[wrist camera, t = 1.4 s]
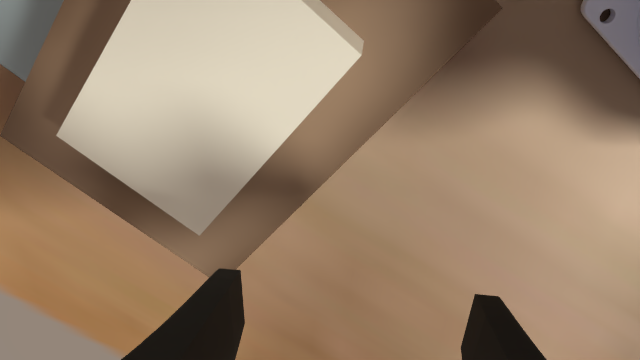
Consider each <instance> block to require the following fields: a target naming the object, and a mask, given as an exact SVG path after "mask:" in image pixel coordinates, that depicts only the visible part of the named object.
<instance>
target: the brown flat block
mask: <svg viewBox="0 0 640 360" xmlns="http://www.w3.org/2000/svg"><path fill="white" fill-rule="evenodd" d="M130 1H131V0H64V1H63V3H62V5H61V7H60V9H59V12H58V14H57V16H56V18H55V20H54V22H53V24H52V26H51V29H50V31H49V33H48V35H47V37H46V39H45V41H44V43H43V45H42V48H41V50H40V52H39V54H38V56H37V58H36V60H35V62H34V65H33V67H32V69H31V71H30V73H29V75H28V77H27V79H26V82H25V84H24V86H23V88H22V90H21V92H20V94H19V96H18V99H17V101H16V103H15V105H14V107H13V109H12V111H11V113H10V116H9V118H8V120H7V122H6V124H5V126H4V128H3V130H2V133H1V135H0V136H1V137H3V138H4V139H6V140H7V141H8V142H10V143H11V144H13V145H14V146H16V147H17V148H19V149H20V150H22V151H23V152H25V153H26V154H28V155H29V156H31V157H32V158H34V159H35V160H37V161H38V162H40V163H41V164H42V165H44V166H45V167H47V168H48V169H50V170H51V171H53V172H54V173H56V174H57V175H59V176H60V177H62V178H63V179H65V180H66V181H68V182H69V183H71V184H72V185H74V186H75V187H76V188H78V189H79V190H81V191H82V192H84V193H85V194H87V195H88V196H90V197H91V198H93V199H94V200H96V201H97V202H99V203H100V204H102V205H103V206H105V207H106V208H108V209H109V210H110V211H112V212H113V213H115V214H116V215H118V216H119V217H121V218H122V219H124V220H125V221H127V222H128V223H130V224H131V225H133V226H134V227H136V228H137V229H139V230H140V231H141V232H143V233H144V234H146V235H147V236H149V237H150V238H152V239H153V240H155V241H156V242H158V243H159V244H161V245H162V246H164V247H165V248H167V249H168V250H170V251H171V252H173V253H174V254H175V255H177V256H178V257H180V258H181V259H183V260H184V261H186V262H187V263H189V264H190V265H192V266H193V267H195V268H196V269H198V270H199V271H201V272H202V273H204V274H205V275H207V276H208V277H210V276H211V275H212V274H213V273H214V272H215V271H216V270H218V269H219V268H223V269H233V270H236V269H237V268H238V267H239V266H240V265H241V264H242V263H243V262H244V261H245V260H246V259H247V258H248V257H249V256H250V255H251V254H252V253H253V252H254V251H255V250H256V249H257V248H258V247H259V246H260V245H261V244H262V243H263V242H264V241H265V240H266V239H267V238H268V237H269V236H270V235H271V234H272V233H273V232H274V231H275V230H276V229H277V228H278V227H279V226H280V225H281V224H283V223H284V222H285V221H286V220H287V219H288V218H289V217H290V216H291V215H292V214H293V213H294V212H295V211H296V210H297V209H298V208H299V207H300V206H301V205H302V204H303V203H304V202H305V201H306V200H307V199H308V198H309V197H310V196H311V195H312V194H313V193H314V192H315V191H316V190H317V189H318V188H319V187H320V186H321V185H322V184H323V183H324V182H325V181H326V180H327V179H328V178H329V177H331V176H332V175H333V174H334V173H335V172H336V171H337V170H338V169H339V168H340V167H341V166H342V165H343V164H344V163H345V162H346V161H347V160H348V159H349V158H350V157H351V156H352V155H353V154H354V153H355V152H356V151H357V150H358V149H359V148H360V147H361V146H362V145H363V144H364V143H365V142H366V141H367V140H368V139H369V138H370V137H371V136H372V135H373V134H374V133H375V132H376V131H378V130H379V129H380V128H381V127H382V126H383V125H384V124H385V123H386V122H387V121H388V120H389V119H390V118H391V117H392V116H393V115H394V114H395V113H396V112H397V111H398V110H399V109H400V108H401V107H402V106H403V105H404V104H405V103H406V102H407V101H408V100H409V99H410V98H411V97H412V96H413V95H414V94H415V93H416V92H417V91H418V90H419V89H420V88H421V87H422V86H423V85H424V84H426V83H427V82H428V81H429V80H430V79H431V78H432V77H433V76H434V75H435V74H436V73H437V72H438V71H439V70H440V69H441V68H442V67H443V66H444V65H445V64H446V63H447V62H448V61H449V60H450V59H451V58H452V57H453V56H454V55H455V54H456V53H457V52H458V51H459V50H460V49H461V48H462V47H463V46H464V45H465V44H466V43H467V42H468V41H469V40H470V39H471V38H473V37H474V36H475V35H476V34H477V33H478V32H479V31H480V30H481V29H482V28H483V27H484V26H485V25H486V24H487V23H488V22H489V21H490V20H491V19H492V18H493V17H494V16H495V15H496V14H497V13H498V12H499V11H500V10H501V9H502V7H501V6H500V5H499V4H498V3H497V2H496V1H495V0H320V1H321V2H322V3H323V4H325V5H326V6H327V7H328V8H329V9H330V10H331V11H332V12H333V13H334V14H335V15H336V16H338V17H339V18H340V19H341V20H342V21H343V22H344V23H345V24H346V25H347V26H348V27H349V28H351V29H352V30H353V31H354V32H355V33H356V34H357V35H358V36H359V37H360V38H361V39H362V40H364V43H363V50H362V55H361V57H360V58H359V59H358V60H357V61H356V62H355V63H354V64H353V65H352V67H351V68H350V69H349V70H348V71H347V72H346V73H345V74H344V75H343V77H342V78H341V79H340V80H339V81H338V82H337V83H336V84H335V85H334V87H333V88H332V89H331V90H330V91H329V92H328V93H327V94H326V96H325V97H324V98H323V99H322V100H321V101H320V102H319V103H318V104H317V106H316V107H315V108H314V109H313V110H312V111H311V112H310V113H309V114H308V116H307V117H306V118H305V119H304V120H303V121H302V122H301V123H300V124H299V126H298V127H297V128H296V129H295V130H294V131H293V132H292V133H291V134H290V136H289V137H288V138H287V139H286V140H285V141H284V142H283V143H282V144H281V146H280V147H279V148H278V149H277V150H276V151H275V152H274V153H273V154H272V156H271V157H270V158H269V159H268V160H267V161H266V162H265V163H264V164H263V166H262V167H261V168H260V169H259V170H258V171H257V172H256V173H255V174H254V176H253V177H252V178H251V179H250V180H249V181H248V182H247V183H246V184H245V186H244V187H243V188H242V189H241V190H240V191H239V192H238V193H237V195H236V196H235V197H234V198H233V199H232V200H231V201H230V202H229V203H228V205H227V206H226V207H225V208H224V209H223V210H222V211H221V212H220V213H219V215H218V216H217V217H216V218H215V219H214V220H213V221H212V222H211V223H210V225H209V226H208V227H207V228H206V229H205V230H204V231H203V232H202V233H201V235H200V236H199V235H198V234H196V233H195V232H193V231H192V230H190V229H189V228H187V227H186V226H185V225H183V224H182V223H180V222H179V221H177V220H176V219H175V218H173V217H172V216H170V215H169V214H167V213H166V212H165V211H163V210H162V209H160V208H159V207H157V206H156V205H155V204H153V203H152V202H150V201H149V200H147V199H146V198H145V197H143V196H142V195H140V194H139V193H137V192H136V191H135V190H133V189H132V188H130V187H129V186H127V185H126V184H125V183H123V182H122V181H120V180H119V179H117V178H116V177H115V176H113V175H112V174H110V173H109V172H107V171H106V170H105V169H103V168H102V167H100V166H99V165H97V164H96V163H95V162H93V161H92V160H90V159H89V158H87V157H86V156H85V155H83V154H82V153H80V152H79V151H77V150H76V149H75V148H73V147H72V146H70V145H69V144H67V143H66V142H65V141H63V140H62V139H60V138H59V137H57V136H56V135H57V133H58V131H59V130H60V128H61V126H62V124H63V122H64V120H65V119H66V117H67V115H68V113H69V111H70V110H71V108H72V106H73V104H74V102H75V101H76V99H77V97H78V95H79V93H80V92H81V90H82V88H83V86H84V84H85V83H86V81H87V79H88V77H89V75H90V74H91V72H92V70H93V68H94V66H95V65H96V63H97V61H98V59H99V57H100V55H101V54H102V52H103V50H104V48H105V46H106V45H107V43H108V41H109V39H110V37H111V36H112V34H113V32H114V30H115V28H116V27H117V25H118V23H119V21H120V19H121V18H122V16H123V14H124V12H125V10H126V9H127V7H128V5H129V3H130Z"/></svg>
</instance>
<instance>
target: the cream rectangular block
mask: <svg viewBox="0 0 640 360" xmlns="http://www.w3.org/2000/svg"><path fill="white" fill-rule="evenodd" d="M363 43H364V40H362V39H361V38H360V37H359V36H358V35H357V34H356V33H355V32H354V31H353V30H352V29H351V28H349V27H348V26H347V25H346V24H345V23H344V22H343V21H342V20H341V19H340V18H339V17H338V16H336V15H335V14H334V13H333V12H332V11H331V10H330V9H329V8H328V7H327V6H326V5H325V4H323V3H322V2H321V1H320V0H131V1H130V3H129V5H128V7H127V9H126V10H125V12H124V14H123V16H122V18H121V19H120V21H119V23H118V25H117V27H116V28H115V30H114V32H113V34H112V36H111V37H110V39H109V41H108V43H107V45H106V46H105V48H104V50H103V52H102V54H101V55H100V57H99V59H98V61H97V63H96V65H95V66H94V68H93V70H92V72H91V74H90V75H89V77H88V79H87V81H86V83H85V84H84V86H83V88H82V90H81V92H80V93H79V95H78V97H77V99H76V101H75V102H74V104H73V106H72V108H71V110H70V111H69V113H68V115H67V117H66V119H65V120H64V122H63V124H62V126H61V128H60V130H59V131H58V133H57V135H56V136H57V137H59V138H60V139H62V140H63V141H65V142H66V143H67V144H69V145H70V146H72V147H73V148H75V149H76V150H77V151H79V152H80V153H82V154H83V155H85V156H86V157H87V158H89V159H90V160H92V161H93V162H95V163H96V164H97V165H99V166H100V167H102V168H103V169H105V170H106V171H107V172H109V173H110V174H112V175H113V176H115V177H116V178H117V179H119V180H120V181H122V182H123V183H125V184H126V185H127V186H129V187H130V188H132V189H133V190H135V191H136V192H137V193H139V194H140V195H142V196H143V197H145V198H146V199H147V200H149V201H150V202H152V203H153V204H155V205H156V206H157V207H159V208H160V209H162V210H163V211H165V212H166V213H167V214H169V215H170V216H172V217H173V218H175V219H176V220H177V221H179V222H180V223H182V224H183V225H185V226H186V227H187V228H189V229H190V230H192V231H193V232H195V233H196V234H198V235H199V236H200V235H201V233H202V232H203V231H204V230H205V229H206V228H207V227H208V226H209V225H210V223H211V222H212V221H213V220H214V219H215V218H216V217H217V216H218V215H219V213H220V212H221V211H222V210H223V209H224V208H225V207H226V206H227V205H228V203H229V202H230V201H231V200H232V199H233V198H234V197H235V196H236V195H237V193H238V192H239V191H240V190H241V189H242V188H243V187H244V186H245V184H246V183H247V182H248V181H249V180H250V179H251V178H252V177H253V176H254V174H255V173H256V172H257V171H258V170H259V169H260V168H261V167H262V166H263V164H264V163H265V162H266V161H267V160H268V159H269V158H270V157H271V156H272V154H273V153H274V152H275V151H276V150H277V149H278V148H279V147H280V146H281V144H282V143H283V142H284V141H285V140H286V139H287V138H288V137H289V136H290V134H291V133H292V132H293V131H294V130H295V129H296V128H297V127H298V126H299V124H300V123H301V122H302V121H303V120H304V119H305V118H306V117H307V116H308V114H309V113H310V112H311V111H312V110H313V109H314V108H315V107H316V106H317V104H318V103H319V102H320V101H321V100H322V99H323V98H324V97H325V96H326V94H327V93H328V92H329V91H330V90H331V89H332V88H333V87H334V85H335V84H336V83H337V82H338V81H339V80H340V79H341V78H342V77H343V75H344V74H345V73H346V72H347V71H348V70H349V69H350V68H351V67H352V65H353V64H354V63H355V62H356V61H357V60H358V59H359V58H360V57H361V55H362V50H363Z"/></svg>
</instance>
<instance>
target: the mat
mask: <svg viewBox="0 0 640 360" xmlns="http://www.w3.org/2000/svg"><path fill="white" fill-rule="evenodd" d="M63 1H64V0H0V64H1V65H3V66H4V67H5V68H7V69H8V70H9V71H11V72H12V73H14V74H15V75H16V76H18V77H19V78H21V79H22V80H23V81H25V82H26V79H27V77H28V75H29V73H30V71H31V69H32V67H33V65H34V62H35V60H36V58H37V56H38V54H39V52H40V50H41V48H42V45H43V43H44V41H45V39H46V37H47V35H48V33H49V31H50V29H51V26H52V24H53V22H54V20H55V18H56V16H57V14H58V12H59V9H60V7H61V5H62V3H63Z"/></svg>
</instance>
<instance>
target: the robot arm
mask: <svg viewBox="0 0 640 360" xmlns="http://www.w3.org/2000/svg"><path fill="white" fill-rule="evenodd" d="M606 9H610V11H611V13H610V17H609V18H608V19H607V20H605V21H604V22H601V21H600V15H601V13H602V12H603V11H604V10H606ZM581 13H582V15H583V16H584V18H585V19H586V20H587V21H588V22H589V23H590V24H591V25H592V27H593V28H594V29H595V30H596V31H597V32H598V33H599V34H600V36H601V37H602V38H603V39H604V40H605V41H606V42H607V43H608V44H609V46H610V47H611V48H612V49H613V50H614V51H615V52H616V53H617V55H618V56H619V57H620V58H621V59H622V60H623V61H624V62H625V63H626V65H627V66H628V67H629V68H630V69H631V70H632V71H633V72H634V74H635V75H636V76H637V77H638V78H639V79H640V0H583V2H582V5H581ZM244 324H245V321H244V308H243V296H242V283H241V271H240V270H233V269H223V268H219V269H218V270H216V271H215V272H214V273H213V274H212V275H211V276H210V277H209V279H208V280H207V281H206V282H205V283H204V284H203V285H202V286H201V287H200V288H199V289H198V290H197V291H196V292H195V293H194V294H193V295H192V296H191V297H190V298H189V299H188V300H187V301H186V302H185V303H184V304H183V305H182V306H181V307H180V308H179V309H178V310H177V311H176V312H175V313H174V314H173V315H172V316H171V317H170V318H169V319H168V320H167V321H165V322H164V323H163V324H162V325H161V326H160V327H159V328H158V329H157V330H156V331H154V332H153V333H152V334H151V335H150V336H149V337H148V338H146V339H145V340H144V341H143V342H142V343H141V344H140V345H138V346H137V347H136V348H135V349H134V350H132V351H131V352H130V353H129V354H128V355H126V356H125V357H124V358H123V359H121V360H235V358H236V354H237V351H238V347H239V343H240V339H241V335H242V332H243V328H244ZM461 353H462V360H546V358H545V357H544V356H543V355H542V353H541V352H540V351H539V350H538V348H537V347H536V346H535V344H534V343H533V342H532V340H531V339H530V338H529V336H528V335H527V334H526V332H525V331H524V330H523V328H522V327H521V326H520V324H519V323H518V322H517V320H516V319H515V318H514V316H513V315H512V313H511V312H510V311H509V309H508V308H507V307H506V305H505V304H504V302H503V301H502V300H501V299H500V297H498V296H488V295H479V294H475V296H474V300H473V304H472V308H471V311H470V315H469V319H468V323H467V326H466V330H465V334H464V338H463V341H462V345H461Z"/></svg>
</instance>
